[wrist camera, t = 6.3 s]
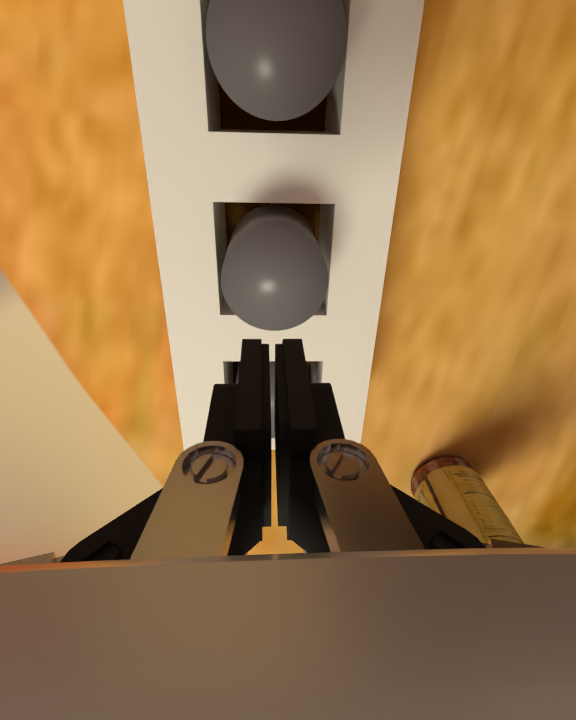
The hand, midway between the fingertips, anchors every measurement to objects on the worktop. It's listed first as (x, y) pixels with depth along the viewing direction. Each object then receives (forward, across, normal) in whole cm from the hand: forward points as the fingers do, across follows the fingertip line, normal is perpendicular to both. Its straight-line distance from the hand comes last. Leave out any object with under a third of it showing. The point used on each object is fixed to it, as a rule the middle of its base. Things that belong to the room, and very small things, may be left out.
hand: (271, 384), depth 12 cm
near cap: (+14, 0, -9) cm, 17 cm away
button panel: (+18, 0, 0) cm, 18 cm away
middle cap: (+14, 0, 0) cm, 14 cm away
